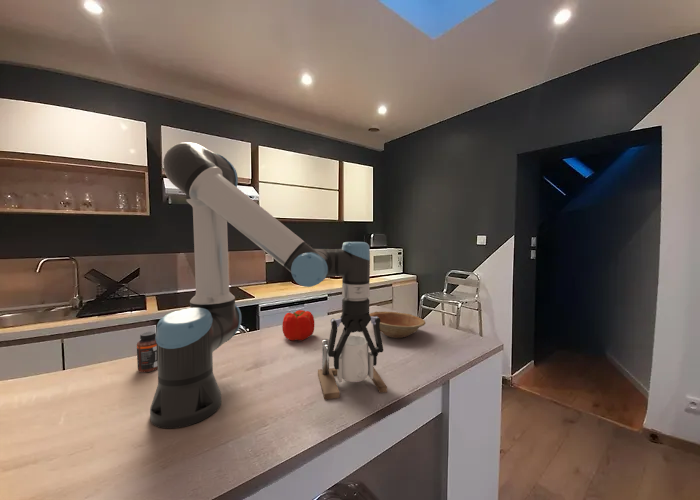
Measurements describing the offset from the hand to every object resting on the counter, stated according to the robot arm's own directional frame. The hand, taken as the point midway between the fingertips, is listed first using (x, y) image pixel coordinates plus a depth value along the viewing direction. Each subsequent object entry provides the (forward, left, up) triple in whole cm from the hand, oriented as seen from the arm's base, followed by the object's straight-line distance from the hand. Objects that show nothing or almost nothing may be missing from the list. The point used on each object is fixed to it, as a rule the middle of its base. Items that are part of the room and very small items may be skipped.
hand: (355, 378), depth 85 cm
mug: (0, 0, 0) cm, 1 cm away
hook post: (-7, +4, -1) cm, 9 cm away
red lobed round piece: (-13, +42, -2) cm, 44 cm away
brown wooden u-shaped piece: (-1, +2, -2) cm, 3 cm away
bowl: (+27, +37, -2) cm, 46 cm away
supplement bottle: (-60, +24, -2) cm, 65 cm away
